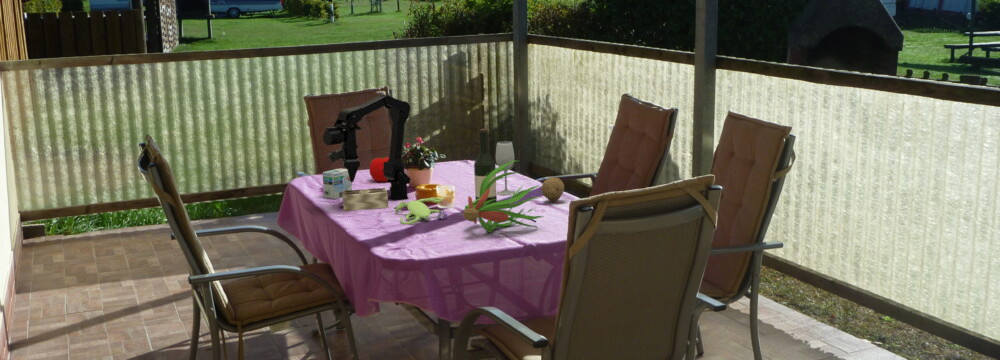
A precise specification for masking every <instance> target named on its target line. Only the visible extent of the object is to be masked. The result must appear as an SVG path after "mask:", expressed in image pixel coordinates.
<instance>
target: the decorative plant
mask: <svg viewBox="0 0 1000 360" xmlns="http://www.w3.org/2000/svg"><path fill="white" fill-rule="evenodd" d="M508 159H509V158H508ZM506 160H507V159H506ZM504 161H505V160H504ZM513 162H514V163H513ZM518 162H520V160H514V161H512V162H509V163H507V164H504V165H502V166H500V167H499V166H498V165H497V164H495V170H493V171H492V172H491V173H490V174H489V175H488V176H487V177H486V178H485V177H484V178H485V179H483V180H484V181H482V183H481V187H480V198H479V199H480V200H479V199H477V200H476V199H475V200H473V198H472V197H471V196H470V195H468V197H467V198H468V199H467V200H468V201H467V204H466V206H465V207H464V210H463V213H462V216H463V219H465V220H467V221H469V222H471V223H472V222H473V223H474V224H475V225H476V224H477V223H478V221H479V223H480V225H481V228H482V229H484V230H485V231H487V232H488V233H492V232H494V230H495V229H497V228H509V227H512V226H515V225H520V226H525V227H530V228H531V227H534V228H537V229H540V228H539V227H538V226H537V225H532V224H528V223H525V222H522V220H528V221H532V222H534V223H537V220H536V219H539V218H540V219H541V218H544V216H542V215H528V214H526V213H530V212H532V211H533V210H535V209H536V207H535V208H534V207H533V208H531V209H529V210H528V211H526V213H524V212H525V210H524V208H522V209H521V210H520V211H516V210H515V211H513V210H512V209H513V208H518V207H519V206H522V205H523V204H525V203H526V202H528V201H529V202H530V201H532V200H533V201H536V200H537V199H541V198H542V196H541V197H539V196H540V195H539V196H538V197H536V196H533V197H529V198H527V199H524V200H521V199H523V198H524V197H525V196H527V194H528V193H530V192H531V191H532V190H534V189H536V188H538V187H540V184H538V185H536V186H532V187H529V188H527V189H524V190H521V189H522V188H523V187H524V186H525V185H526V184H528V183H530V181H529V182H526V183H525V184H523V185H522V186H520V187H519V188H518V189H517V190H516V191H514V192H515V193H514V194H513V195H511V196H510V197H508V198H505V199H502V200H499V201H497V202H494V203H491V204H488V203H490V202H492V201H494V200H496V199H492V200H489V201H486V199H487V198H489V197H488V195H489V191H490V187H491V185H492V184H493V183H494V182H495V181H496V182H497V181H498V180H501V179H505V178H508V176H510V175H513V174H514V175H515V174H519V172H518V171H514V172H509V171H510V170H512V169H513V168H514V167H515V166H516V164H517V163H518ZM501 163H502V162H501ZM511 163H513V165H512V167H511V168H510V169H509V168H504V167H506V166H507V165H509V164H511ZM499 164H500V163H499ZM502 168H503V169H502ZM492 169H493V168H492ZM506 169H509V170H508V171H507V173H502V174H500V175H498V176H497V174H499V173H501V172H504V171H503V170H506ZM487 174H488V173H487ZM487 174H486V175H487ZM494 175H496V178H494V179H493V180H492V181H490V180H491V178H492V177H493V176H494ZM505 176H507V177H505ZM489 181H490V182H489ZM520 190H521V191H520ZM490 192H491V191H490ZM490 197H492V196H490ZM478 200H479V201H478ZM476 201H477V202H476ZM518 201H519V202H518ZM516 202H517V203H516ZM487 204H488V205H487ZM484 205H485V206H484ZM482 207H483V208H482ZM517 212H518V213H517ZM518 219H522V220H520V221H519V220H518ZM485 220H486V221H485ZM508 226H509V227H508Z"/></svg>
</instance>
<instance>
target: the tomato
mask: <svg viewBox="0 0 1000 360" xmlns="http://www.w3.org/2000/svg"><path fill="white" fill-rule="evenodd" d="M389 157H390V156H382V155H381V157H379V156H378V157H376V158H374V159H372V161H371V162H370V163H369V164H370V165H369V174H370V177H371V178H372V179H373V180H374V181H376V182H381V183H383V182H385V183H386V182H387V183H388V181H387V179H386V177H385V176H384V172H383V168H384V165H383V163H384V162H387V161H388V159H389Z"/></svg>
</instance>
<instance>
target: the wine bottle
mask: <svg viewBox="0 0 1000 360" xmlns="http://www.w3.org/2000/svg"><path fill="white" fill-rule="evenodd" d="M478 134H479V135H478V138H479V153H478V156H477V158H476V160H475V161H474V164H473V169H474V193H475V195H474V197H475V198H474V199H475V200H477V199H479V198H480V187H481V183H482V181H484V180H483V179H485V178H486V177H487V176H488V175H489V174H490V173H491V172H492V171H493V170H495V169H496V161H494V159H493V158H492V156H491V154H490V152H489V131H488V130H487V128H481V129H479V131H478ZM492 168H493V169H492ZM487 173H488V174H487ZM486 174H487V175H486ZM484 177H485V178H484ZM496 177H497V174H496V175H494V176H493V177H492V178H491V180H490V181H492V180H493V179H494V178H496ZM490 181H489V182H490ZM490 191H491V192H490ZM490 191H489V195H488V197H489V198H487V199H486V201H489V200H492V199H496V200H494V201H492V202H490V203H488V204H491V203H494V202H498V201H497V199H498V198H497V181H495V182H494V183H493V184H492V185H491V187H490ZM490 196H492V197H490ZM479 200H480V199H479ZM479 200H478V201H479ZM476 202H477V201H476ZM488 204H487V205H488ZM484 206H485V205H484ZM482 208H483V207H482Z"/></svg>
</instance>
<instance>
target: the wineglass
mask: <svg viewBox="0 0 1000 360" xmlns="http://www.w3.org/2000/svg"><path fill="white" fill-rule="evenodd" d="M513 145H514V144H513V141H498V142H497V143H496V149H495V164H496V165H497V167H500V166H502V165H504V164H507V163H509V162H512V161H515V151H514V147H513ZM508 158H509V159H508ZM506 159H507V160H506ZM504 160H505V161H504ZM501 162H502V163H501ZM499 163H500V164H499ZM514 164H515V162H513V163H511V164H509V165H507V166H506V167H504V168H509V169H506V170H503V171H502V172H504V173H503V174H505V173H508V172H509V171H510V170H511V169H510V168H511V167H512V166H513V165H514ZM502 169H503V168H502ZM508 170H509V171H508ZM507 171H508V172H507ZM504 177H507V178H508V175H507V176H504ZM507 178H504V190H503V191H499V192H496V195H499V196H512V195H511V194H513V195H514V193H515V192H516V191H511V190H508V180H507Z"/></svg>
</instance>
